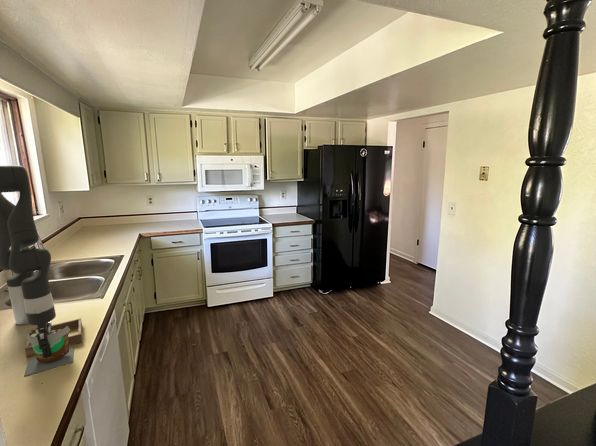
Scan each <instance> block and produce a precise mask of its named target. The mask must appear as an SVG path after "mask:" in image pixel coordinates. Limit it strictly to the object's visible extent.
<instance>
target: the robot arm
mask: <svg viewBox="0 0 596 446" xmlns="http://www.w3.org/2000/svg"><path fill="white" fill-rule="evenodd" d="M18 192H19V196H18V197H19V198H18V201H17V203H16V204H15V203H13V202H11V201H9V199H7V198H6V197H5V196H4V193H18ZM33 211H34V210H33V199H32V192H31V184H30V177H29V173H28V171H27V170H26V167H25V166H23V165H20V164H19V165H17V164H16V165H15V164H11V165H10V164H9V165H8V164H7V165H5V164H4V165H3V164H2V165H1V164H0V269H1V271H9V270H10V271H11V272H12V273H14V274H13V275H11V276H9V277H8V278H7V279H6V285H7V289H8V290H7V291H8V294H9V298H10V303H11V308H12V314H13V317H14V322H15V324H16V325H18V326H19V325H20V326H23V325H30V326H36V328H35V329H36V333H37V335H36V337H37V339H38V343H39V349H40V350H41V349H42V352H43V357H44V358H47V357H50V356H52V353H51V348H50V345H51V344H50V341H48V336H47V335H50V334H51V332H50V330H52V325H53V324H52V322H51V321H53V320H54V319H56V316H57V315H56V314H57V313H56V309H55V304H54V298H53V295H52V292H51V288H50V282H49V273H50V267H51V263H52V256H51V255H52V254H51V253H50V251H49V250H48V249H47V248H44V247H39V248H34V249H31V248H30V246H34V245H35V244H37V243H38V242H39V239H40V238H39V234H38V231H37V226H36V222H35V218H34V213H33ZM36 271H37V273H36V274H35V272H36ZM42 343H47V344H42Z"/></svg>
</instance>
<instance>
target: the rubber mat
mask: <svg viewBox="0 0 596 446" xmlns="http://www.w3.org/2000/svg"><path fill="white" fill-rule="evenodd" d="M73 362H74V347H73V346H72V347H69V352H68V353H67V354H66V355H65V356H63V357H61V358H59V359H57V360H54V361H51V362H44V363H42V362H38V361H37V359H36V357H34V358H28V360H27V363H26V367H25V372H24V376H23V377H24V378H25V377H28V376H31V375H35V374H38V373H42V372H44V371H45V372H46V371H48V370H51V369H54V368H58V367H62V366H64V365H65V366H66V365H67V364H72V363H73Z"/></svg>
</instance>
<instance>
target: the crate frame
mask: <svg viewBox="0 0 596 446" xmlns="http://www.w3.org/2000/svg"><path fill="white" fill-rule="evenodd" d="M66 326H68V327H69V329H70V331H71V330H74V329H78V333H75V334H72V335H68V339H69V347H70V346H74V345H77V344H80V343H81V344H82V343H83V323H82V318H76V319H72V320H68V321H64V322H59V323H55V324H52V330H54V329H64V328H65V327H66ZM29 331H30V332H31V333H36V328H35V329H29ZM24 352H25V356H26V358H30V357H35V353H34V350H33V347H32V344H31V343H29V342H28V341H27V340H26V344H25V346H24Z"/></svg>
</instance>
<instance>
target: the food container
mask: <svg viewBox="0 0 596 446" xmlns="http://www.w3.org/2000/svg"><path fill="white" fill-rule="evenodd" d="M70 331H71V330H70V329H69V327H68V326H66V327H65V328H64V329H54V330H50V332H51V334H50V335H47V336H48V341H50V344H51V345H50V348H51V353H52V356H50V357H47V358H44V357H43V352H42V349H41V350H40V349H39V343H38V339H37V337H36V335H37V333H31V332H30V330H29V332H27V333H28V334H27V340H26V342H27V341H28V342H29V343H31V344H32V347H33V350H34V353H35V355H34V357H35V358H36V359H37V361H38V362H42V363H44V362H51V361H54V360H57V359H59V358H61V357H63V356H65V355H66V354H67V353H68V352H69V348H70V346H69V339H68V336H69V332H70ZM42 344H47V343H42Z"/></svg>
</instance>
